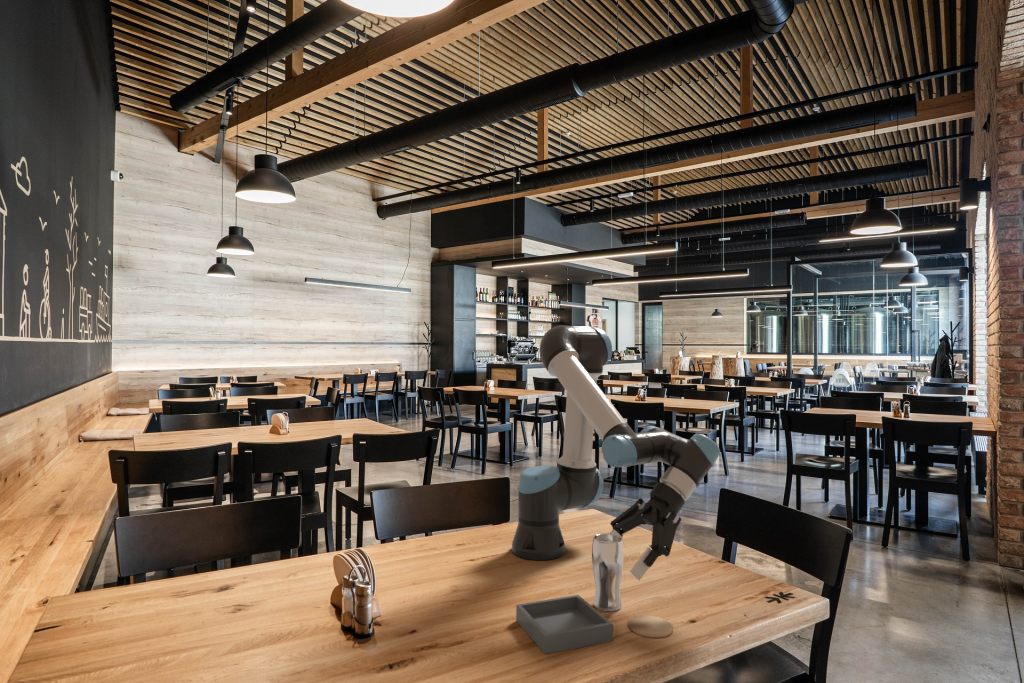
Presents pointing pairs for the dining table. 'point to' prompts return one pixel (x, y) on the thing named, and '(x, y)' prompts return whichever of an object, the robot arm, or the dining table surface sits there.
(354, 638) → the dining table surface
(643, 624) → the coaster
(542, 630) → the tray
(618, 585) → the beer glass
